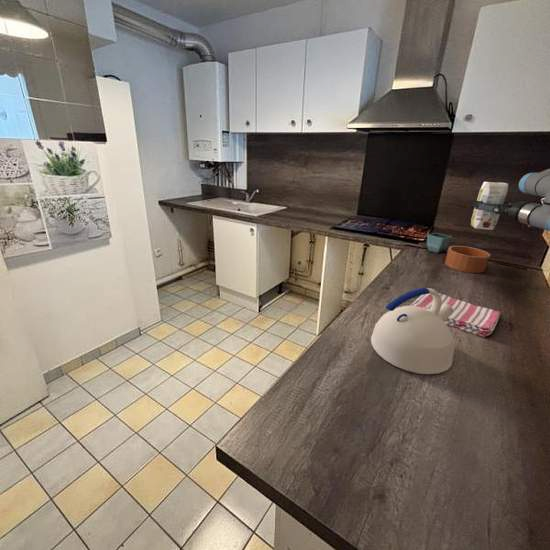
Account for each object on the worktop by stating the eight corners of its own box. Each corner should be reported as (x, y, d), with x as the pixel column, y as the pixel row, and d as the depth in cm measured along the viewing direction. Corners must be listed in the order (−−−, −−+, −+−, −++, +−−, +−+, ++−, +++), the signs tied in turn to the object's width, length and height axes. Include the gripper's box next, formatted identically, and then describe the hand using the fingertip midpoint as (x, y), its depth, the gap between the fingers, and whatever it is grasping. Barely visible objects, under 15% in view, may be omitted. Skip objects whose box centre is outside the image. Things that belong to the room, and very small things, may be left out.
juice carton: (495, 230, 123) (511, 183, 115) (472, 228, 125) (486, 182, 117) (490, 226, 129) (504, 182, 122) (468, 224, 132) (481, 181, 124)
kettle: (472, 366, 72) (496, 303, 65) (402, 382, 67) (421, 314, 60) (415, 323, 90) (429, 269, 83) (356, 332, 84) (365, 275, 77)
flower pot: (447, 252, 157) (452, 236, 154) (439, 255, 153) (443, 238, 149) (432, 247, 164) (436, 232, 160) (423, 250, 159) (427, 234, 156)
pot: (487, 266, 139) (492, 251, 136) (482, 276, 128) (488, 260, 125) (448, 257, 149) (452, 243, 146) (441, 266, 137) (445, 251, 134)
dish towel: (489, 340, 83) (493, 329, 82) (407, 309, 98) (409, 300, 96) (499, 318, 95) (503, 309, 93) (424, 294, 109) (426, 285, 108)
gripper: (495, 223, 107) (455, 211, 127) (549, 223, 109) (501, 211, 130) (502, 202, 104) (460, 193, 124) (557, 203, 106) (507, 194, 127)
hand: (481, 202), depth 127 cm, fingers closed on juice carton, 9 cm apart
